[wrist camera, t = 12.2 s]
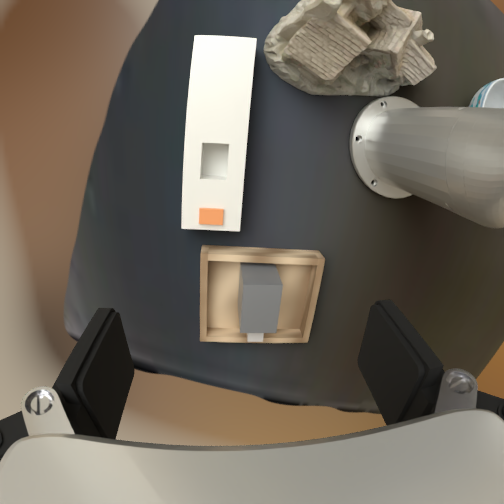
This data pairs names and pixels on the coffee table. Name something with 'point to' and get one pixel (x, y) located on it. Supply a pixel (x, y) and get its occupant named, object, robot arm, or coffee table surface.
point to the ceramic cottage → (349, 47)
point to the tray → (227, 284)
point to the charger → (258, 299)
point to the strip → (217, 132)
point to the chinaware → (490, 95)
